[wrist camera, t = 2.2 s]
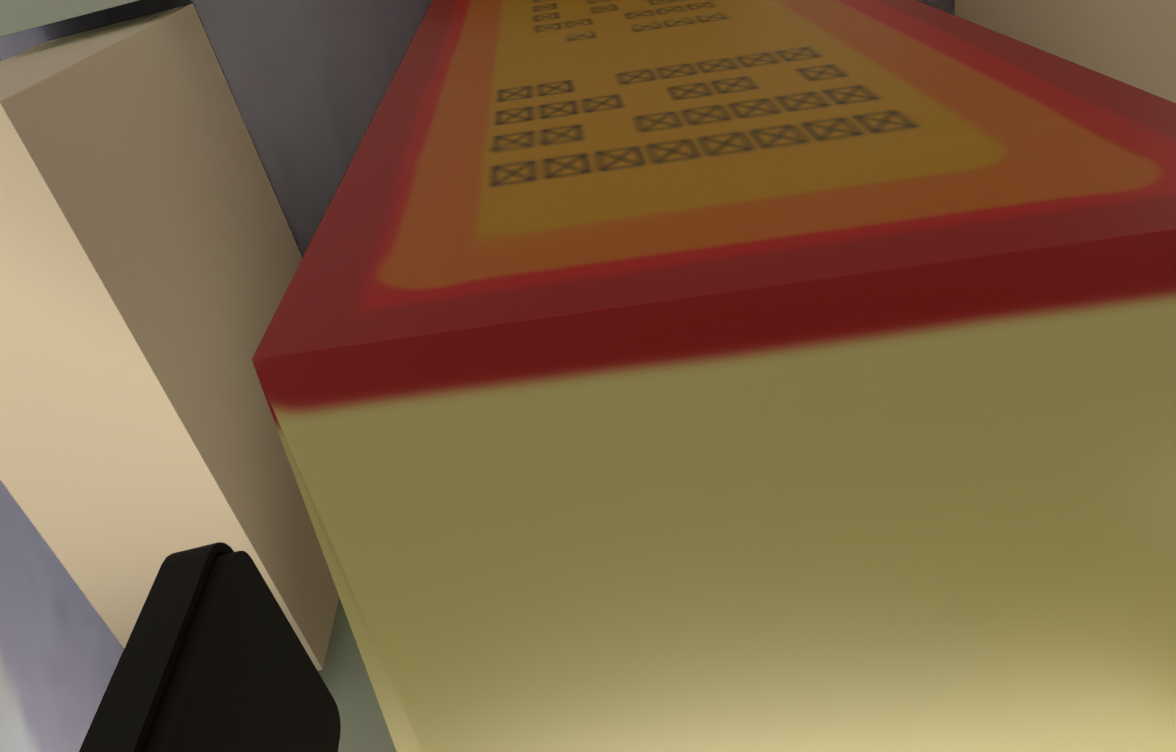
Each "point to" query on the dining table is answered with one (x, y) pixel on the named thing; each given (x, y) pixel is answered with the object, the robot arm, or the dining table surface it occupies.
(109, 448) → the miniature sofa
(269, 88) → the dining table surface
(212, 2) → the dining table surface
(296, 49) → the dining table surface
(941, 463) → the baking soda box
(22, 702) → the dining table surface
